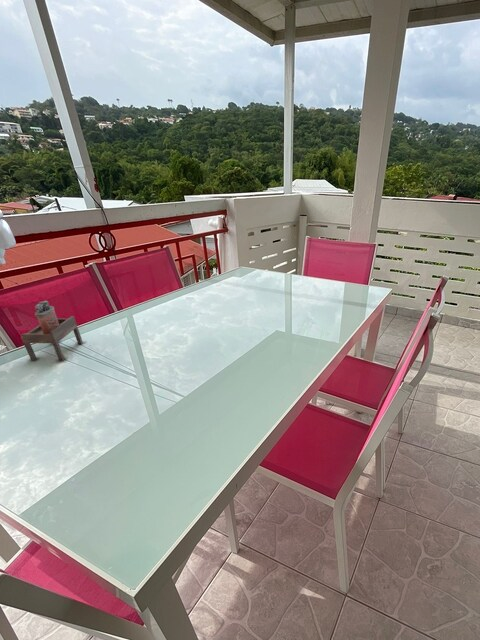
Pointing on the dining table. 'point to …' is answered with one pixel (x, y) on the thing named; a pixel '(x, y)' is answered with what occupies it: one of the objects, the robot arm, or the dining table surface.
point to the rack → (51, 336)
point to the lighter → (46, 317)
